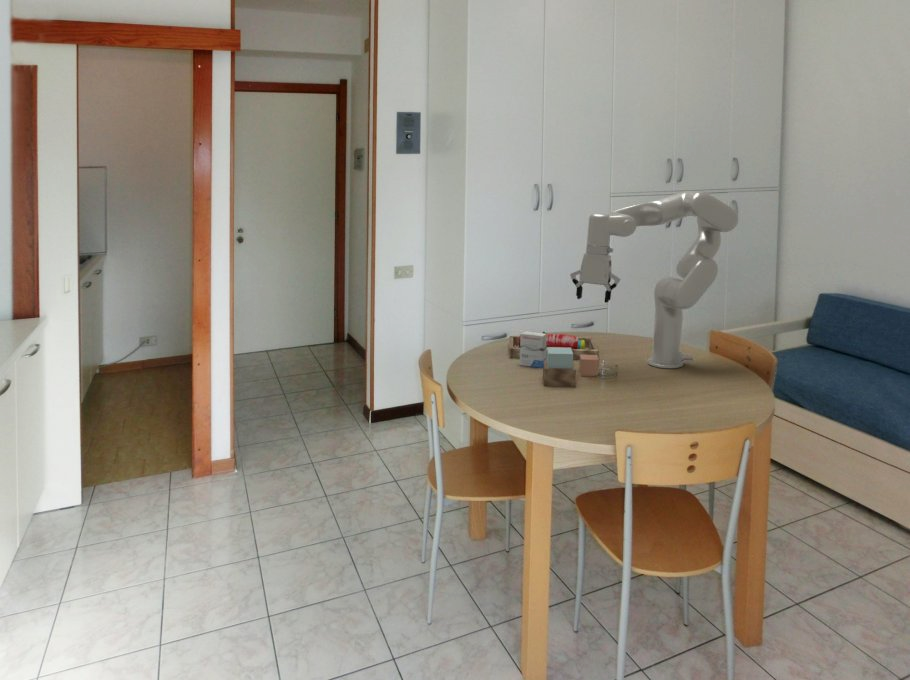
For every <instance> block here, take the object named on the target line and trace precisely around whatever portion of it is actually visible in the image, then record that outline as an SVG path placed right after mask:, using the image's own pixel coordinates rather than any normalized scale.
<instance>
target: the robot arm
mask: <svg viewBox="0 0 910 680" xmlns="http://www.w3.org/2000/svg"><path fill="white" fill-rule="evenodd" d="M686 217H696V223H697V228H698V229H697V231H698V232H697V236H696V238H695V240H694V242H693V243H692V245H691V246H690V247H689V248H688V249H687V250H686V252H685V253H684V254H683V256H681V258H680V260H679V261H678V262H677V264H676V266H675V267H676V268H675V271H676V274H677V275H678V276H679V277H680V278H681V279H680V278H676V277H671V276H668V277H667V276H665V277H662V278H661V279H659V280H658V281H657V282H656V284H655V286H654V290H653V291H654V296H653V297H654V308H655V309H654V310H655V311H654V312H655V313H654V324H653V335H652V336H653V337H652V338H653V339H652V351H651V356H650V357H648V358H647V359H646V360H647V362H646V363H647V364H648V365H650V366H652V367H655V368H661V369H678V368H682V367H683V366H684V361H694V355H693V354H688V353H681V343H682V342H681V341H682V331H683V330H682V329H683V318H684V314H683V313H684V312H683V310H687V309H691V308H693V306H695V305H696V304H697V303H698V302H699V300H701V299H702V297H703V296H704V294H705V293H706V292H707V291H708V290H709V288H710V287H711V286H712V284H713V283H714V281H715V280H716V278H717V275H718V272H719V269H718V264H717V262H716V261H715V259H714V257H715V256H716V254H717V253H718V251H719V250H720V247H721V241H722V238H721V237H722V236H721V233H728V232H729V233H730V231H731V232H732V230H734V229H735V228H736V227H737V226H738V222H739V215H738V213H737V211H736V209H734V208H733V207H732V206H730V205H728V204H726V203H725V202H723V201H722V200H719V199H718V198H716V197H714V196H713V195H711V194H709V193H707V192H705V191H698V190H697V191H696V190H685V191H681V192H678V193H675V194H672V195H669V196H666V197H663V198H659V199H656V200H652V201H649V202H648V201H646V202H644V203H638V204H635V205H631V206H625V207H622V208H619V209H616V210H614V211H610V212H609V213H597V212H596V213H595V212H594V213H592V214H590V215H589V217H588V225H587V226H588V227H587V239H586V240H587V241H586V249H585V253H584V254H583V256H582V261H581V264H580V269H579V270H576V271H574V272H571V273H570V274H569V275H570V279H571V280H572V283H573V284H574V285H575V288H576V292H575V296H576V298H577V300H580V299H582V298H583V289H584V288H583V285H584V284H591V285H598V286H604V288H605V289H606V291H605V292H604V294H605V295H604V303H606V304H607V303H608V302H609V301H610V300H611V298H612V297H611V296H612V290H614V289H615V288H616V287H618V284H620V281H621V278H620V277H619V276H617V275H615V274H614V273H612V255H610V253H613V252H614V248H611V246H610V242H611V236H616V237H621V238H625V237H629V236H632V235H633V234H634V233H635V231H636V229H637V227H645V226H647V227H650V226H651V227H652V226H655V227H656V226H661V225H665V224H668V223H670V222H674V221H676V220H681V219H683V218H686ZM578 275H579V280H578V279H577V277H576V276H578ZM612 280H614V282H613V283H612V284H611V281H612Z"/></svg>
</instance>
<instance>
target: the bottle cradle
mask: <svg viewBox="0 0 910 680" xmlns="http://www.w3.org/2000/svg"><path fill="white" fill-rule="evenodd" d="M519 337H520V335H509V339H508V340H509V342H508V343H509V344H508V345H509V354H508V355H509V359H520V348H519V347H514V346H513V345H519ZM575 337H576V338H578V339H579V340H584V341H585V348H589V349H585V350H583V349H572V352H573V361H574V360H576V361H577V360H578V361H580V355H597V356H598V358H599V355H600V354H599V353H600V351H599V348H598V346H597V343H596V342H595V339H594V338H593V337H582V336H580V337H577V336H575ZM546 360H547V349H546Z"/></svg>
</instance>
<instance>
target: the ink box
mask: <svg viewBox="0 0 910 680" xmlns="http://www.w3.org/2000/svg"><path fill="white" fill-rule="evenodd" d="M521 333H522V334H521ZM521 333H520V334H519V336H520V335H521V336H520V358H519V365H520V366H524V367H532V368H541V369H543V363H544V361H546V360H547V359H546V341H547V334H548V333H547V334H544V333H543V332H537V333H536V332H535V331H527V330H526V331H523V332H521Z"/></svg>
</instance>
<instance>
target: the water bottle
mask: <svg viewBox="0 0 910 680" xmlns="http://www.w3.org/2000/svg"><path fill="white" fill-rule="evenodd" d="M522 333H523V332H521V333H520V334H522ZM536 333H538V332H536ZM542 333H544V334H547V341H546V349H547V347H563V348H571V349H583V350H586V347H585V341H584V340H579V339H578V338H576V337H577V336H575V335H572V334H564V333H563V334H562V333H560V334H559V333H553V334H552V333H551V334H550V333H547V332H545V331H543V332H542ZM520 334H519V336H521V335H520ZM518 348H520V337H519V346H518Z"/></svg>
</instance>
